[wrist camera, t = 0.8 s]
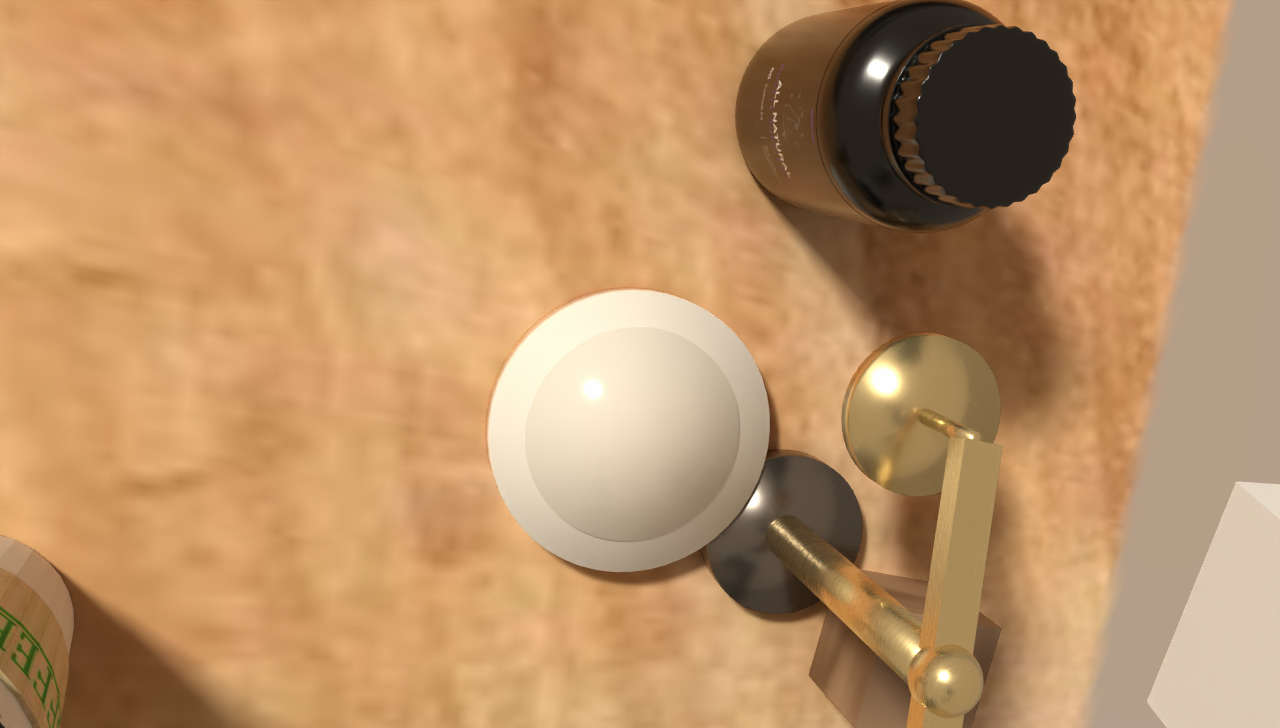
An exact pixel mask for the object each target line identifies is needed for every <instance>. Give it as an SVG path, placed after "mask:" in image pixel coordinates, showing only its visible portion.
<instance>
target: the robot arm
mask: <svg viewBox="0 0 1280 728" xmlns="http://www.w3.org/2000/svg"><path fill="white" fill-rule="evenodd" d="M1147 703H1148V704H1149V706H1150V707H1151V708H1152V709H1153V711H1154V712H1155V713H1156V714H1157V716H1158V717H1159V718H1160V720H1161V721H1162V722H1163V723H1164V725H1165V726H1166V727H1167V728H1280V484H1265V483H1248V482H1236V484H1235V487H1234V489H1233V491H1232V494H1231V496H1230V499H1229V501H1228V504H1227V506H1226V509H1225V511H1224V513H1223V516H1222V518H1221V521H1220V523H1219V526H1218V528H1217V531H1216V533H1215V536H1214V538H1213V541H1212V543H1211V545H1210V548H1209V550H1208V553H1207V555H1206V558H1205V560H1204V563H1203V565H1202V568H1201V570H1200V572H1199V575H1198V577H1197V580H1196V582H1195V585H1194V587H1193V590H1192V592H1191V595H1190V597H1189V600H1188V602H1187V605H1186V607H1185V609H1184V612H1183V614H1182V617H1181V619H1180V622H1179V624H1178V627H1177V629H1176V632H1175V634H1174V637H1173V639H1172V641H1171V644H1170V646H1169V649H1168V651H1167V654H1166V656H1165V659H1164V661H1163V664H1162V666H1161V668H1160V671H1159V673H1158V676H1157V678H1156V681H1155V683H1154V686H1153V688H1152V691H1151V693H1150V695H1149V698H1148V700H1147Z"/></svg>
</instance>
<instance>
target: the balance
mask: <svg viewBox="0 0 1280 728" xmlns="http://www.w3.org/2000/svg"><path fill="white" fill-rule="evenodd" d="M1000 414H1001V401H1000V393H999V389H998V385H997V381H996V379H995V377H994V374H993V372H992V370H991V369H990V367H989V365H988V364H987V362H986V361H985V360H984V359H983V357H982V356H981V355H980V354H979V353H978V352H977V351H975V350H974V349H973V348H971V347H970V346H968V345H967V344H965V343H963V342H961V341H959V340H956V339H953V338H950V337H947V336H944V335H941V334H936V333H930V332H919V333H910V334H907V335H903V336H900V337H897V338H895V339H892V340H890V341H888V342H887V343H885V344H883V345H881V346H880V347H879V348H877V349H876V350H875V351H873V352H872V353H871V354H870V355H869V356H868V357H867V358H866V359H865V360H864V362H863V363H862V364H861V365H860V366H859V368H858V369H857V371H856V372H855V374H854V376H853V377H852V379H851V381H850V384H849V386H848V388H847V391H846V394H845V397H844V402H843V407H842V432H843V438H844V441H845V444H846V448H847V450H848V452H849V454H850V456H851V458H852V459H853V461H854V463H855V464H856V465H857V467H858V468H859V469H860V470H861V471H862V472H863V473H864V474H865V475H866V476H867V477H869V478H870V479H871V480H873V481H875V482H876V483H878V484H879V485H881V486H882V487H884V488H885V489H888V490H890V491H892V492H894V493H898V494H902V495H907V496H927V495H933V494H937V493H940V492H942V493H941V500H940V507H939V513H938V520H937V527H936V534H935V540H934V547H933V554H932V560H931V567H930V574H929V580H928V587H927V594H926V601H925V607H924V614H923V621H921V620H919V619H918V618H917V617H916V616H915V615H913V614H912V613H911V612H910V611H909V610H907V609H906V608H905V607H904V606H903V605H902V604H900V603H899V602H898V601H897V600H896V599H894V598H893V597H892V596H891V595H890V594H888V593H887V592H886V591H885V590H884V589H882V588H881V587H880V586H879V585H878V584H876V583H875V582H874V581H873V580H872V579H871V578H869V577H868V576H867V575H866V574H865V573H863V572H862V571H861V570H860V569H859V568H857V567H856V566H855V565H854V564H853V563H854V561H855V559H856V556H857V553H858V550H859V546H860V542H861V535H862V518H861V512H860V508H859V504H858V501H857V499H856V496H855V494H854V492H853V490H852V489H851V487H850V486H849V484H848V483H847V482H846V481H845V479H844V478H843V477H842V476H841V475H840V474H839V473H837V472H836V471H835V470H834V469H832V468H831V467H829V466H828V465H827V464H825V463H824V462H822V461H820V460H819V459H817V458H816V457H813V456H811V455H809V454H806V453H803V452H799V451H793V450H773V451H767V454H766V458H765V462H764V466H763V469H762V471H761V474H760V477H759V480H758V482H757V484H756V486H755V488H754V490H753V492H752V494H751V496H750V498H749V499H748V501H747V502H746V504H745V505H744V507H743V508H742V510H741V511H740V513H739V514H738V515H737V516H736V517H735V518H734V520H733V521H732V522H731V523H730V524H729V525H728V526H727V527H726V528H725V529H724V530H723V531H722V532H721V533H720V534H719V535H718V536H717V537H716V538H714V539H713V540H712V541H710V542H709V543H708V544H706V545H705V546H703V547H702V548H701V551H702V555H703V558H704V561H705V564H706V566H707V568H708V569H709V571H710V573H711V574H712V576H713V577H714V579H715V580H716V581H717V582H718V583H719V585H720V586H721V587H722V588H723V589H724V590H725V591H726V592H727V593H728V595H729V596H730V597H732V598H733V599H734V600H736V601H737V602H738V603H740V604H742V605H744V606H745V607H748V608H750V609H753V610H755V611H760V612H764V613H773V614H778V613H789V612H795V611H798V610H801V609H804V608H807V607H809V606H811V605H814V604H815V603H817V602H819V601H820V600H821V601H822V602H823V603H824V604H825V605H826V606H827V607H828V608H829V609H830V610H831V611H832V612H834V613H835V614H836V615H837V616H838V617H839V618H840V619H841V620H842V621H843V622H844V623H845V624H846V625H847V626H848V627H849V628H850V629H851V630H852V631H853V632H854V633H855V634H856V635H857V636H858V637H859V638H860V639H861V640H862V641H863V642H864V643H866V644H867V645H868V646H869V647H870V648H871V649H872V650H873V651H874V652H875V653H876V654H877V655H878V656H879V657H880V658H881V659H882V660H883V661H884V662H885V663H886V664H887V665H888V666H889V667H890V668H891V669H892V670H893V671H894V672H895V673H896V674H898V675H899V676H900V677H901V678H902V679H903V680H904V681H905V682H906V683H907V684H908V686H909V690H910V692H911V701H910V708H909V714H908V721H907V728H962V726H963V719H964V714H965V713H967V712H969V711H970V710H971V709H972V708H973V707H974V706H975V705H976V704H977V702H978V701H979V699H980V697H981V694H982V691H983V673H982V670H981V667H980V665H979V663H978V662H977V660H976V658H975V657H974V656H973V650H974V643H975V636H976V629H977V622H978V615H979V608H980V601H981V594H982V587H983V580H984V573H985V566H986V559H987V552H988V545H989V538H990V531H991V524H992V517H993V510H994V503H995V496H996V489H997V483H998V476H999V469H1000V462H1001V455H1002V448H1003V446H1000V445H996V444H993V442H994V440H995V437H996V434H997V431H998V427H999V422H1000Z"/></svg>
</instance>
